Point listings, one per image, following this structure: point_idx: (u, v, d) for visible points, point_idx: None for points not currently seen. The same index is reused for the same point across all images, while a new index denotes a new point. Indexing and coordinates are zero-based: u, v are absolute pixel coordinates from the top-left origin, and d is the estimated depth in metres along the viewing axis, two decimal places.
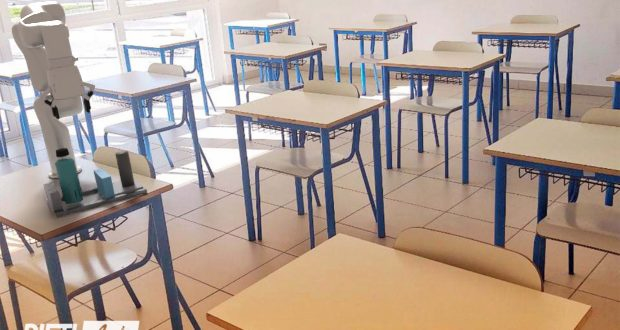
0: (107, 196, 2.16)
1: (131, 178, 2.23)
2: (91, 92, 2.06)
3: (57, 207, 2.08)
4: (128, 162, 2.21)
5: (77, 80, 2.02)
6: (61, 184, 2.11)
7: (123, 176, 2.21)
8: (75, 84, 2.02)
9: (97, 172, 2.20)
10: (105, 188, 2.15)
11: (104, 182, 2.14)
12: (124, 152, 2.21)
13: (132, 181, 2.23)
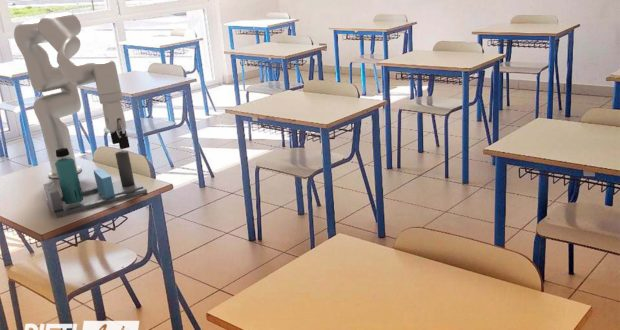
0: (107, 196, 2.16)
1: (131, 178, 2.23)
2: None
3: (57, 207, 2.08)
4: (128, 162, 2.21)
5: None
6: (61, 184, 2.11)
7: (123, 176, 2.21)
8: None
9: (97, 172, 2.20)
10: (105, 188, 2.15)
11: (104, 182, 2.14)
12: (124, 152, 2.21)
13: (132, 181, 2.23)
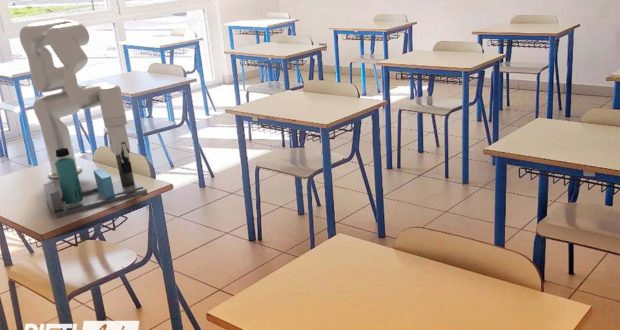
0: (107, 196, 2.16)
1: (131, 178, 2.23)
2: None
3: (57, 207, 2.08)
4: None
5: None
6: (61, 184, 2.11)
7: (123, 176, 2.21)
8: None
9: (97, 172, 2.20)
10: (105, 188, 2.15)
11: (104, 182, 2.14)
12: None
13: (132, 181, 2.23)
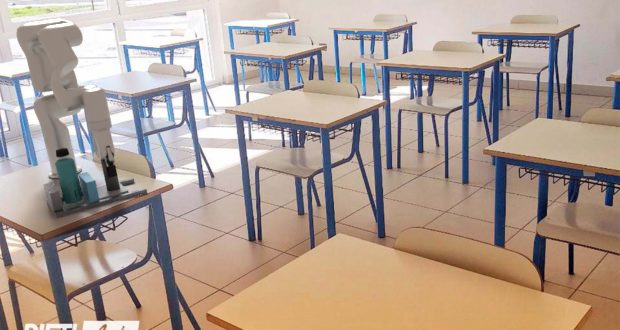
0: (91, 200, 2.13)
1: (116, 182, 2.20)
2: None
3: (57, 207, 2.08)
4: None
5: None
6: (61, 184, 2.11)
7: (108, 179, 2.19)
8: None
9: (82, 176, 2.18)
10: (89, 192, 2.12)
11: (88, 186, 2.11)
12: None
13: (117, 185, 2.21)
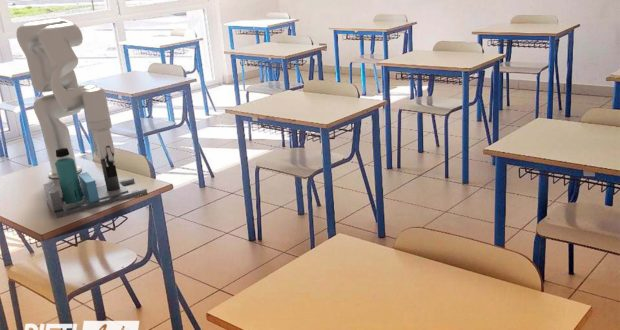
0: (91, 200, 2.13)
1: (116, 182, 2.20)
2: None
3: (57, 207, 2.08)
4: None
5: None
6: (61, 184, 2.11)
7: (108, 180, 2.19)
8: None
9: (82, 176, 2.18)
10: (89, 192, 2.12)
11: (88, 186, 2.11)
12: None
13: (117, 185, 2.21)
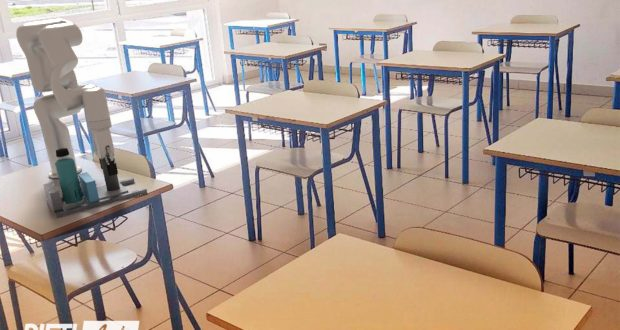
0: (91, 200, 2.13)
1: (116, 182, 2.20)
2: None
3: (57, 207, 2.08)
4: None
5: None
6: (61, 184, 2.11)
7: (108, 180, 2.19)
8: None
9: (82, 176, 2.18)
10: (89, 192, 2.12)
11: (88, 186, 2.11)
12: None
13: (117, 185, 2.21)
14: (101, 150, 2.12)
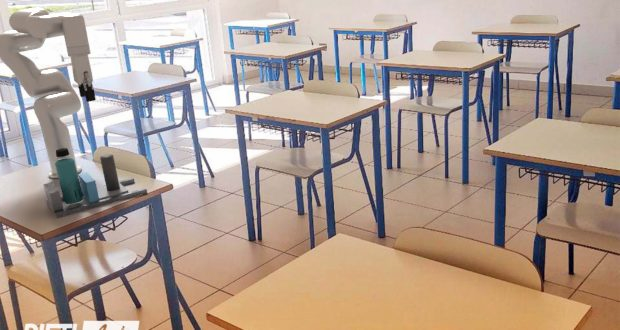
0: (91, 200, 2.13)
1: (116, 182, 2.20)
2: None
3: (57, 207, 2.08)
4: (113, 166, 2.19)
5: None
6: (61, 184, 2.11)
7: (108, 180, 2.19)
8: None
9: (82, 176, 2.18)
10: (89, 192, 2.12)
11: (88, 186, 2.11)
12: (109, 156, 2.18)
13: (117, 185, 2.21)
14: (79, 75, 2.18)
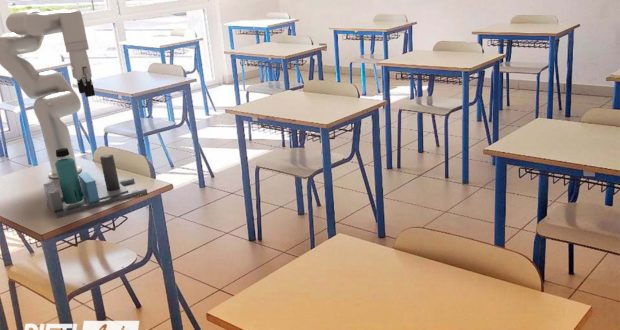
0: (91, 200, 2.13)
1: (116, 182, 2.20)
2: None
3: (57, 207, 2.08)
4: (113, 166, 2.19)
5: None
6: (61, 184, 2.11)
7: (108, 180, 2.19)
8: None
9: (82, 176, 2.18)
10: (89, 192, 2.12)
11: (88, 186, 2.11)
12: (109, 156, 2.18)
13: (117, 185, 2.21)
14: (78, 71, 2.19)
